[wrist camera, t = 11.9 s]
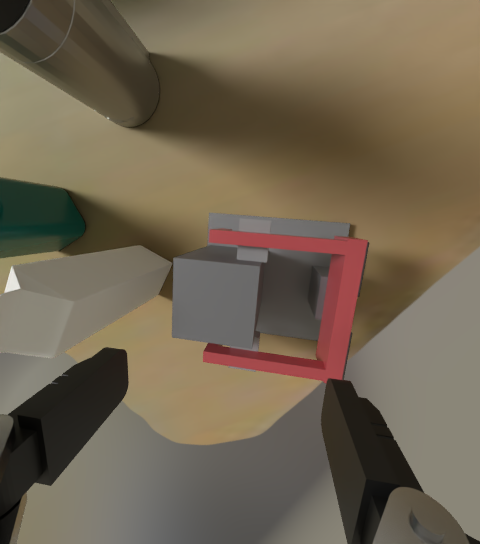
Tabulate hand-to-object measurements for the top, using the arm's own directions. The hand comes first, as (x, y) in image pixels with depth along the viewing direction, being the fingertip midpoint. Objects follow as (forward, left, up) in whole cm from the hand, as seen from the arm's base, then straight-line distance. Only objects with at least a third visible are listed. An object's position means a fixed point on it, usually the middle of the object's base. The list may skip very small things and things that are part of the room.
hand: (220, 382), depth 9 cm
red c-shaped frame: (+2, +3, -19) cm, 19 cm away
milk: (+3, -18, -27) cm, 32 cm away
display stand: (+2, +1, -27) cm, 27 cm away
